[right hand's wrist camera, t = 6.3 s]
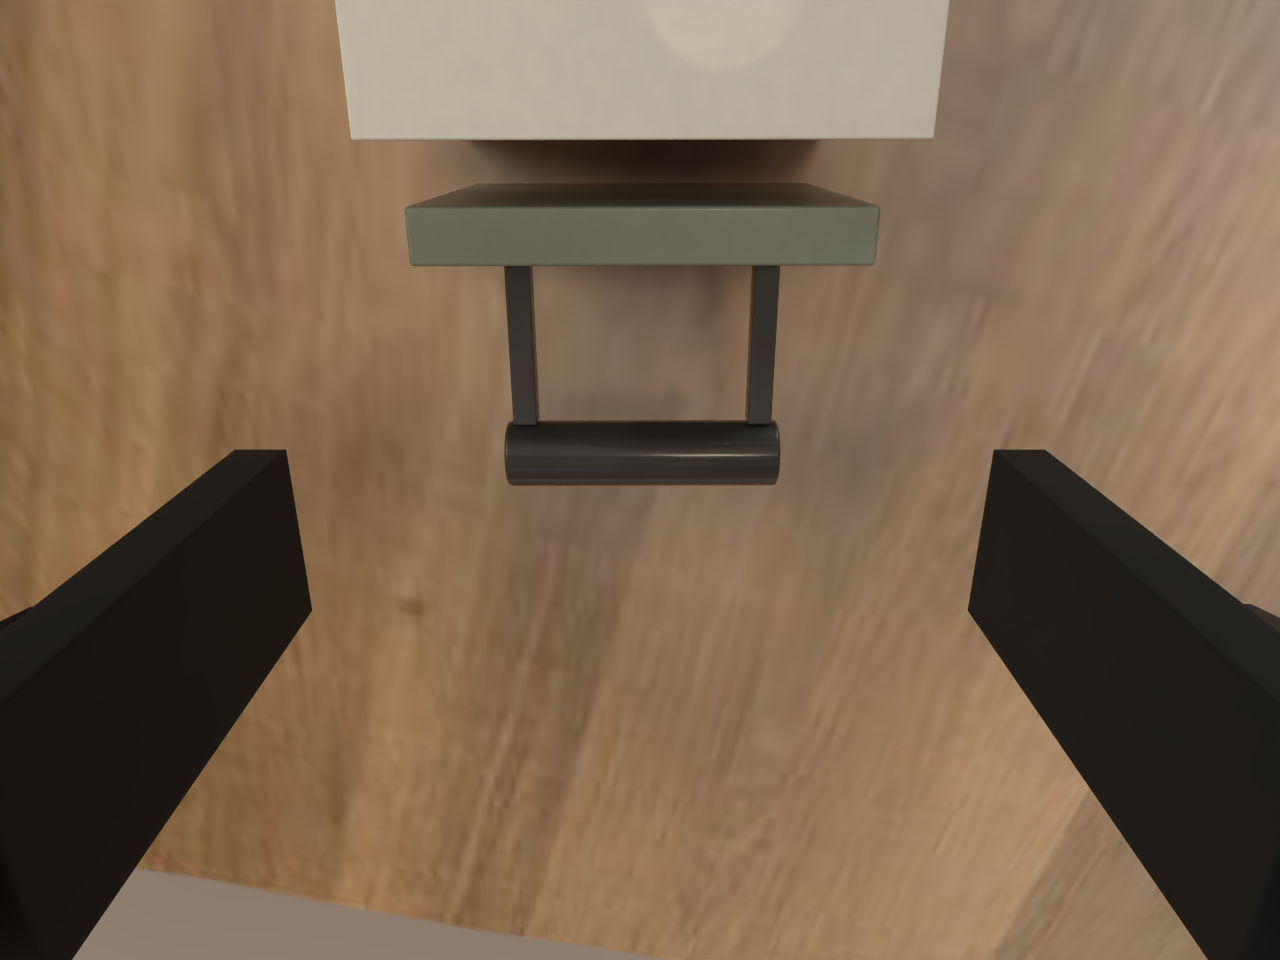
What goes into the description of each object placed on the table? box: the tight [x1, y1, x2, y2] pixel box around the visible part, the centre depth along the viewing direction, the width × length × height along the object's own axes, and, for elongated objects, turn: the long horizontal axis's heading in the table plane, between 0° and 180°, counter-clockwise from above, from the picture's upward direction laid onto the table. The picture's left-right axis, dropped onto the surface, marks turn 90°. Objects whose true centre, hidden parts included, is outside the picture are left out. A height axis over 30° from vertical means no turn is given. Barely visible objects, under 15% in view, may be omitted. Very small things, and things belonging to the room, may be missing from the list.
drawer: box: [405, 183, 880, 486], centre depth 20 cm, size 23×10×8 cm, turn 0°
